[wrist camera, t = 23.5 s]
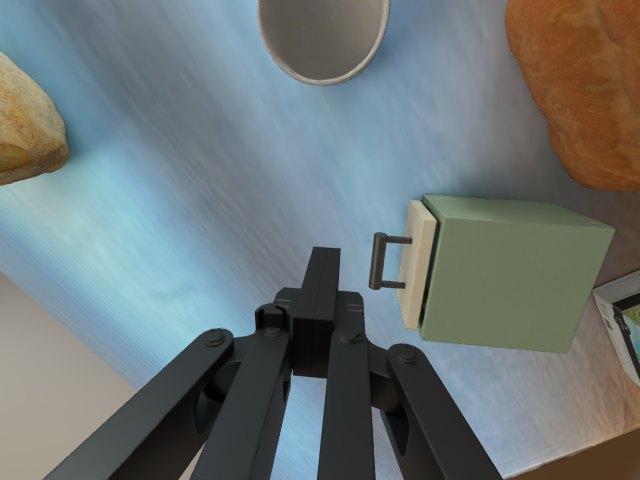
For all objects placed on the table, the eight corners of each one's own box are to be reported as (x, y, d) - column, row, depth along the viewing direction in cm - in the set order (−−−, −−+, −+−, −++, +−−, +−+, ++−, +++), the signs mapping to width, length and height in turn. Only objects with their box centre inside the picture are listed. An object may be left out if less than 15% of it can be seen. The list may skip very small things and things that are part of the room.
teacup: (391, 73, 34) (403, 60, 26) (294, 105, 35) (279, 101, 28) (359, -89, 29) (362, -161, 22) (251, -43, 31) (219, -94, 24)
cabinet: (407, 294, 43) (421, 340, 34) (423, 194, 38) (445, 217, 29) (520, 303, 41) (566, 354, 33) (551, 202, 37) (616, 228, 28)
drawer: (364, 290, 42) (367, 325, 35) (374, 197, 37) (379, 216, 30) (502, 301, 41) (535, 341, 33) (529, 207, 36) (574, 229, 29)
